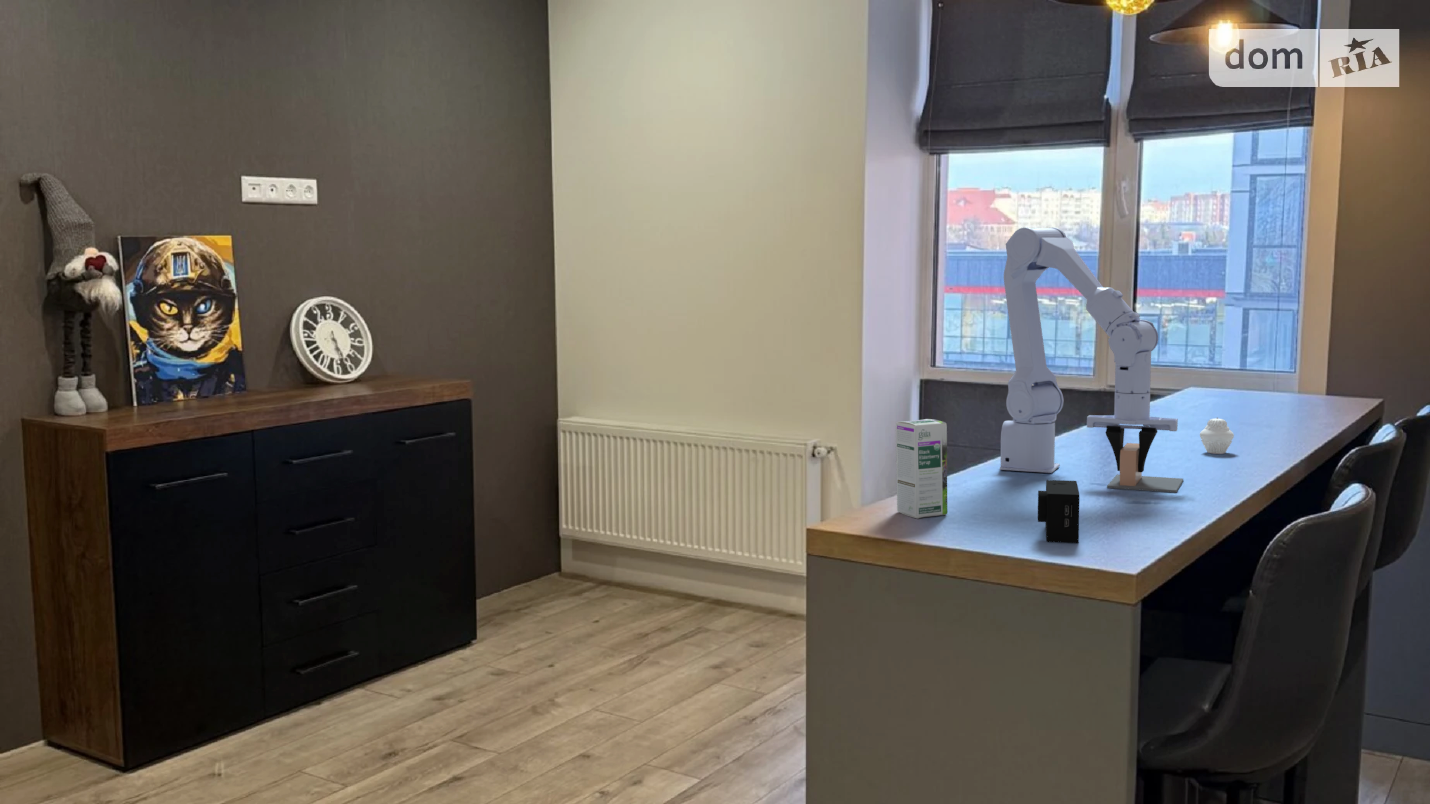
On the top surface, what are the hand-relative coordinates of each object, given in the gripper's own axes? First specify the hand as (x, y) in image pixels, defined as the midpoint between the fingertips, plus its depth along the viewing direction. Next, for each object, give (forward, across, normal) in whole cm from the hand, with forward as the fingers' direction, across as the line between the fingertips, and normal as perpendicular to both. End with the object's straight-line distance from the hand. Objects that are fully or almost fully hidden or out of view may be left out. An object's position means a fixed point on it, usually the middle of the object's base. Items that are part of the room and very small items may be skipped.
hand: (1130, 470), depth 204 cm
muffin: (+2, +11, +38) cm, 40 cm away
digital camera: (+2, -4, -42) cm, 42 cm away
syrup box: (+2, -26, -36) cm, 44 cm away
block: (+2, 0, 0) cm, 2 cm away
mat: (+2, +2, 0) cm, 3 cm away
